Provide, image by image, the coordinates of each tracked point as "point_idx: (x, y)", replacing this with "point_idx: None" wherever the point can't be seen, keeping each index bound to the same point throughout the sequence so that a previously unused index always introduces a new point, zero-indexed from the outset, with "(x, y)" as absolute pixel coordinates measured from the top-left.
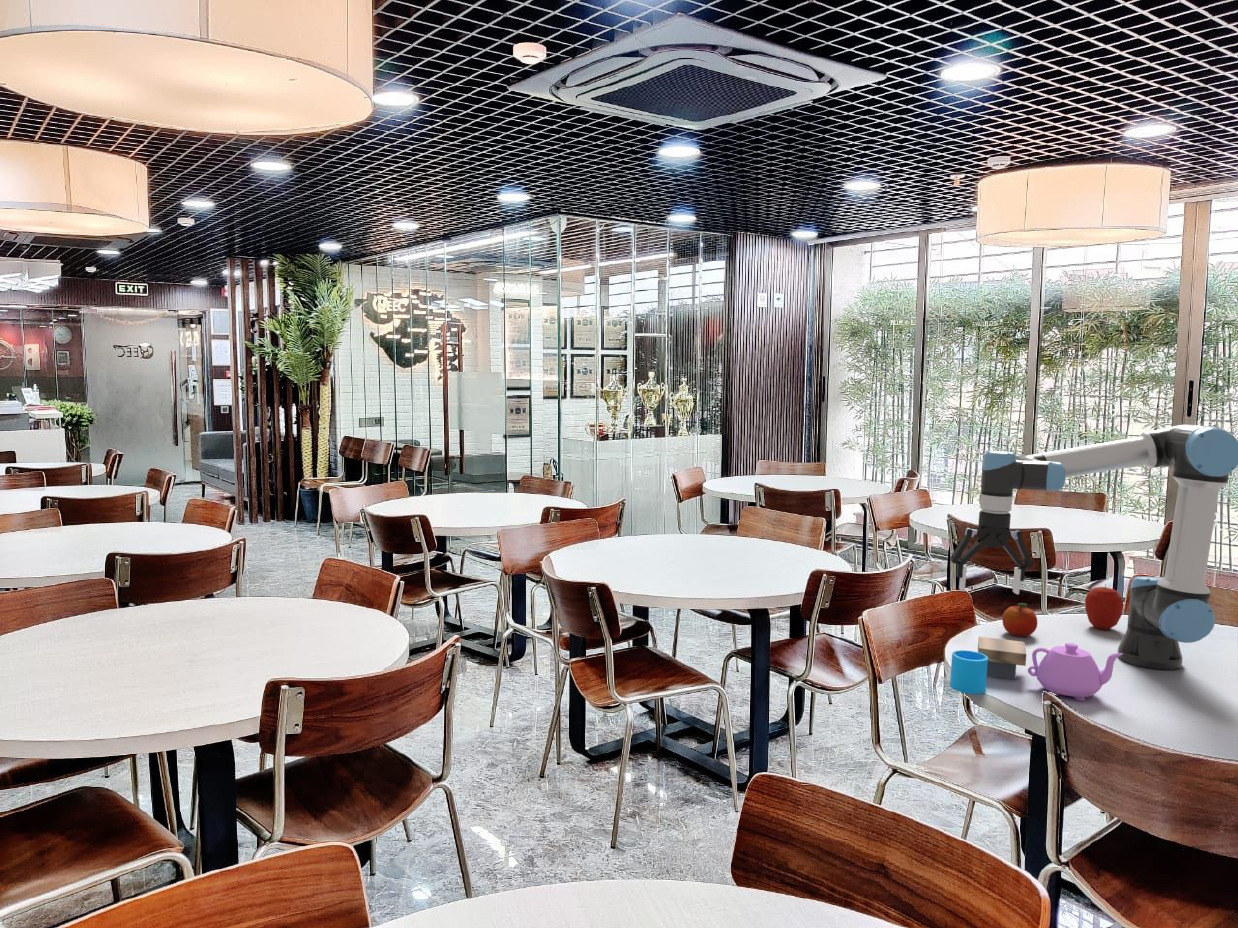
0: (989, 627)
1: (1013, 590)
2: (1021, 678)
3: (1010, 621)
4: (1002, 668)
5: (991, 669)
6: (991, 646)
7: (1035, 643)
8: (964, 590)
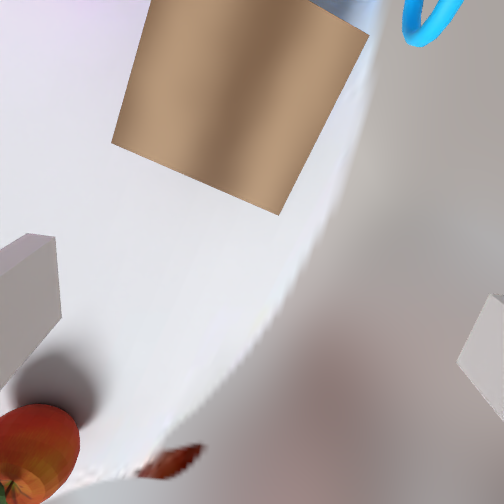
0: (108, 460)
1: (53, 309)
2: None
3: (60, 441)
4: None
5: None
6: (293, 65)
7: None
8: (496, 297)
